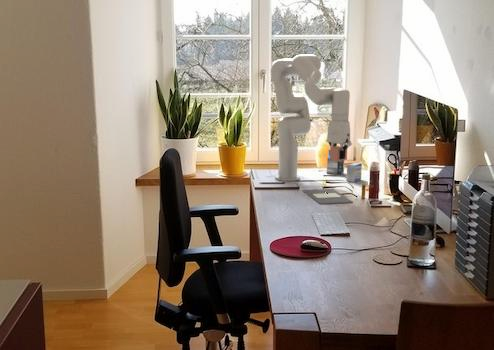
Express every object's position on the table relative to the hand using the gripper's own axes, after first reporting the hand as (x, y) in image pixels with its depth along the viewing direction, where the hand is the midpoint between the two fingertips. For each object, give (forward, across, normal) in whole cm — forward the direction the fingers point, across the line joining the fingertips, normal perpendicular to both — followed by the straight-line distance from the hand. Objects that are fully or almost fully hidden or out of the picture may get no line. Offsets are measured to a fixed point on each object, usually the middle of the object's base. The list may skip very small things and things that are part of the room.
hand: (338, 157), depth 259 cm
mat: (+17, 0, -6) cm, 18 cm away
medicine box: (+17, -14, +29) cm, 36 cm away
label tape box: (+18, -31, +35) cm, 50 cm away
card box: (+1, 0, 0) cm, 1 cm away
